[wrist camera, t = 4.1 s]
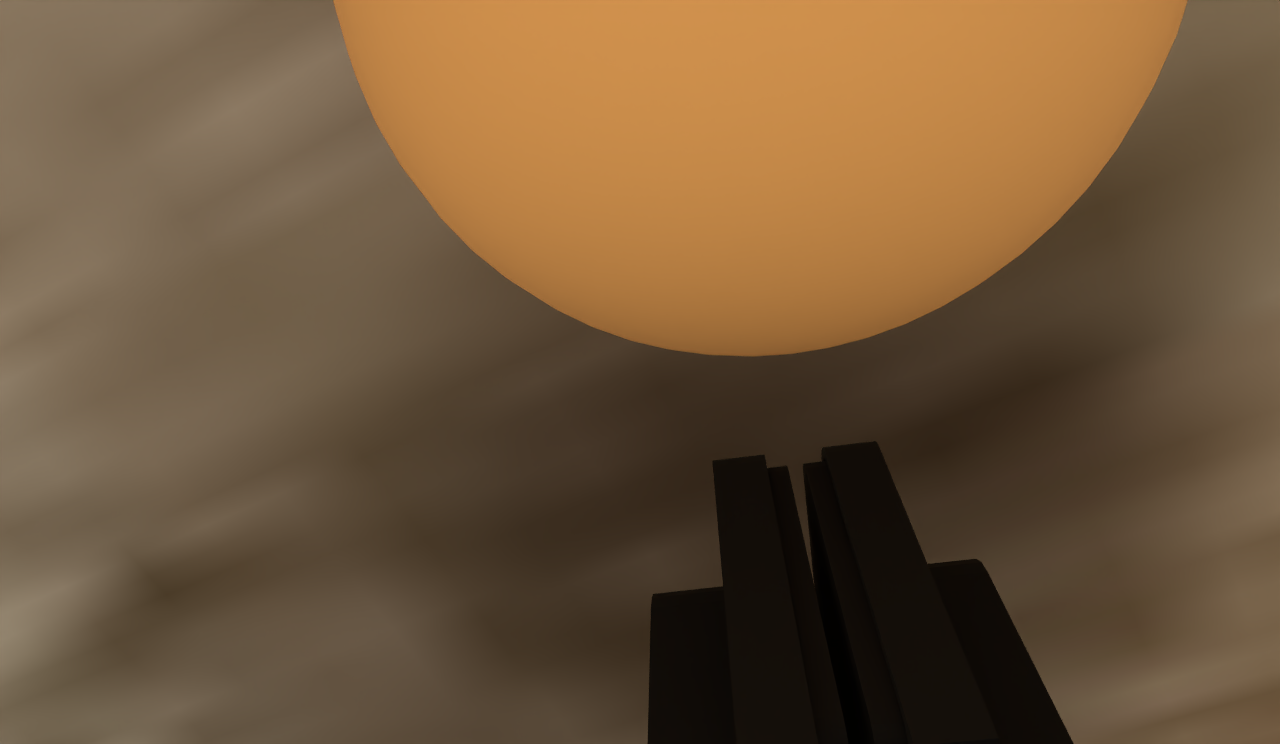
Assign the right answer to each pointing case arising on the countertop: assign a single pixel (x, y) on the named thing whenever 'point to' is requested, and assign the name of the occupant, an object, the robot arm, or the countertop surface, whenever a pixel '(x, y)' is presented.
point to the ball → (753, 148)
